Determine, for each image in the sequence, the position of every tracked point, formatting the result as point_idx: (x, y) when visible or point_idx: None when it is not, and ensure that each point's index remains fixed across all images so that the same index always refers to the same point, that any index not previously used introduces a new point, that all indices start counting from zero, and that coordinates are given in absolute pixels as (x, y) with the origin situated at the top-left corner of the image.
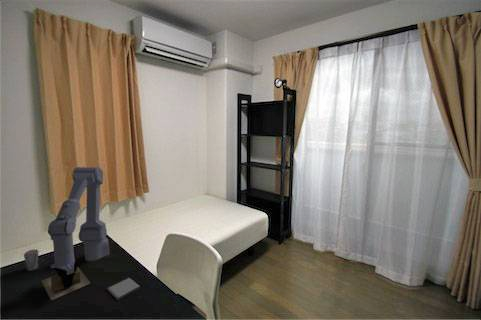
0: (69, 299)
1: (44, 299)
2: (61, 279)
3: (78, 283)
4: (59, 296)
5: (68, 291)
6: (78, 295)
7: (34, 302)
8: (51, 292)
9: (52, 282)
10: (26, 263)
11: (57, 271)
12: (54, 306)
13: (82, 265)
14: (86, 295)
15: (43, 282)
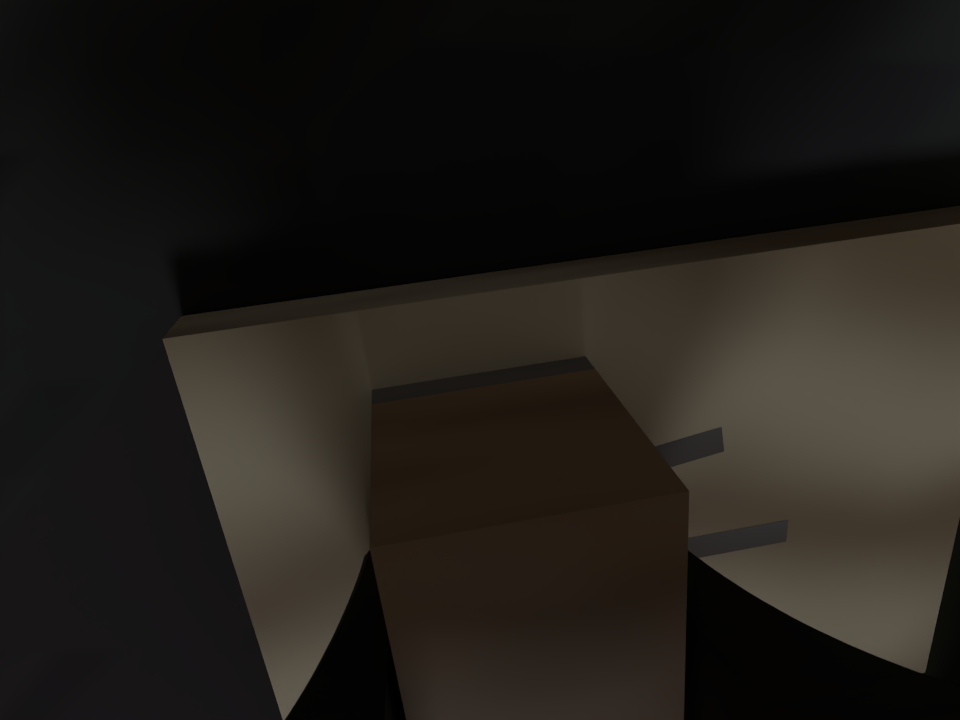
0: (130, 537)
1: (405, 226)
2: (401, 671)
3: None
4: (205, 457)
5: (280, 569)
6: (164, 633)
7: (428, 73)
8: (450, 351)
9: (484, 485)
10: None
11: (740, 692)
12: (53, 354)
13: (955, 677)
14: (91, 711)
15: (930, 245)
